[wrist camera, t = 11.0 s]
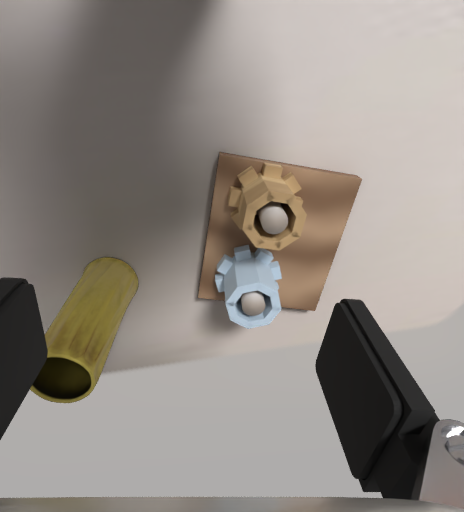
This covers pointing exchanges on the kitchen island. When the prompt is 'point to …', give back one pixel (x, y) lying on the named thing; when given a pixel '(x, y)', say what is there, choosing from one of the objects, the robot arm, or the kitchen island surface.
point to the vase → (85, 331)
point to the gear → (249, 284)
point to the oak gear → (259, 194)
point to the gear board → (295, 255)
